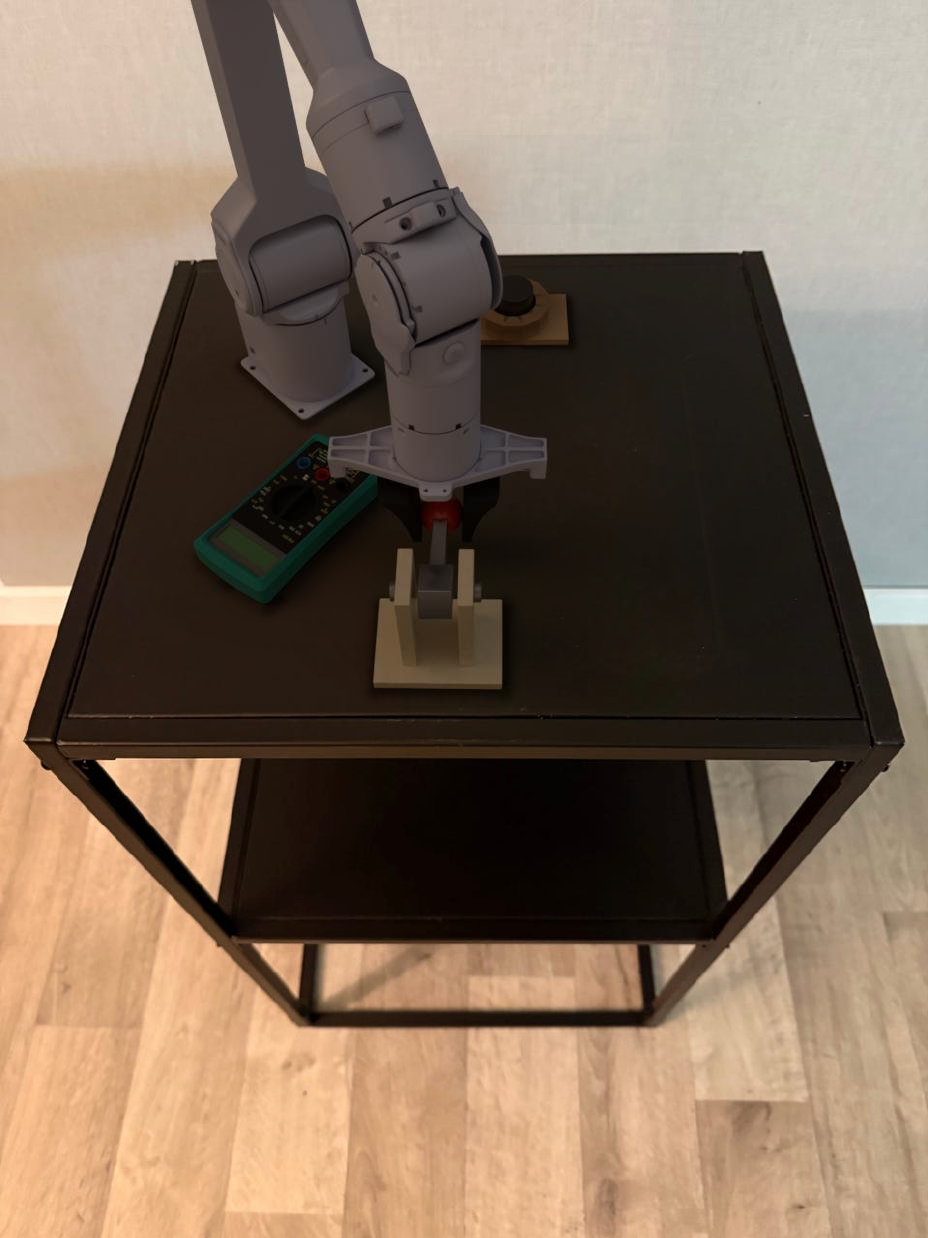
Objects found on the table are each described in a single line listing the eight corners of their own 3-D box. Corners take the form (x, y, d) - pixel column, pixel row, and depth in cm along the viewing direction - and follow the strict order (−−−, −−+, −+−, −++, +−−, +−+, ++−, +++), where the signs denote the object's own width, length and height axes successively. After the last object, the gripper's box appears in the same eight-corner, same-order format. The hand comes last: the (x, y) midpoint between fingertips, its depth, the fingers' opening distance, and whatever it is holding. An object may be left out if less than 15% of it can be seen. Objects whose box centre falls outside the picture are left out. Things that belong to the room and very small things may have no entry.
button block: (456, 347, 84) (455, 325, 82) (457, 298, 88) (457, 276, 86) (568, 347, 84) (570, 325, 82) (565, 298, 88) (567, 275, 85)
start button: (492, 317, 83) (492, 301, 82) (492, 290, 85) (492, 273, 84) (533, 317, 83) (534, 301, 82) (532, 289, 85) (533, 273, 84)
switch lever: (421, 517, 71) (419, 482, 69) (464, 518, 71) (463, 482, 69) (411, 623, 62) (409, 586, 60) (459, 624, 62) (459, 586, 60)
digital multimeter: (392, 487, 76) (389, 463, 74) (265, 611, 70) (257, 590, 68) (325, 446, 79) (319, 421, 76) (196, 563, 72) (185, 540, 70)
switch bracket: (381, 606, 70) (368, 531, 62) (501, 607, 70) (504, 532, 62) (374, 690, 67) (360, 622, 59) (502, 691, 66) (505, 623, 58)
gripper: (312, 448, 57) (340, 574, 68) (553, 449, 56) (540, 576, 68) (323, 364, 60) (348, 498, 72) (550, 365, 60) (538, 499, 72)
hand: (442, 531), depth 70 cm, fingers closed on switch lever, 3 cm apart
